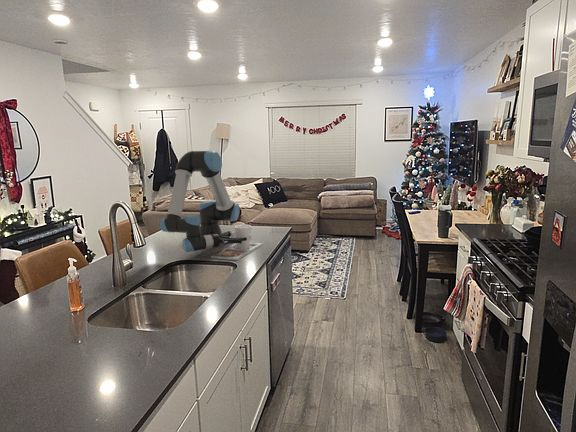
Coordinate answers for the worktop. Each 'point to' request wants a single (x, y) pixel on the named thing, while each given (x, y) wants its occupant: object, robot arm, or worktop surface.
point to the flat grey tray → (235, 252)
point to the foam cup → (243, 231)
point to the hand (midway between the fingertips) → (245, 235)
